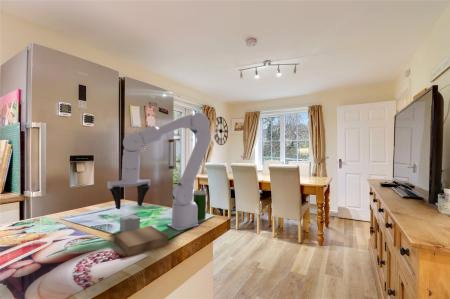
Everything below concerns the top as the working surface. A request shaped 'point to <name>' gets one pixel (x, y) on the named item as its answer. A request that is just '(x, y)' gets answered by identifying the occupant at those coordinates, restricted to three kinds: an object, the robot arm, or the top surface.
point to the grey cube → (129, 223)
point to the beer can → (200, 203)
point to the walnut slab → (140, 240)
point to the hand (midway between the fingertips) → (129, 206)
